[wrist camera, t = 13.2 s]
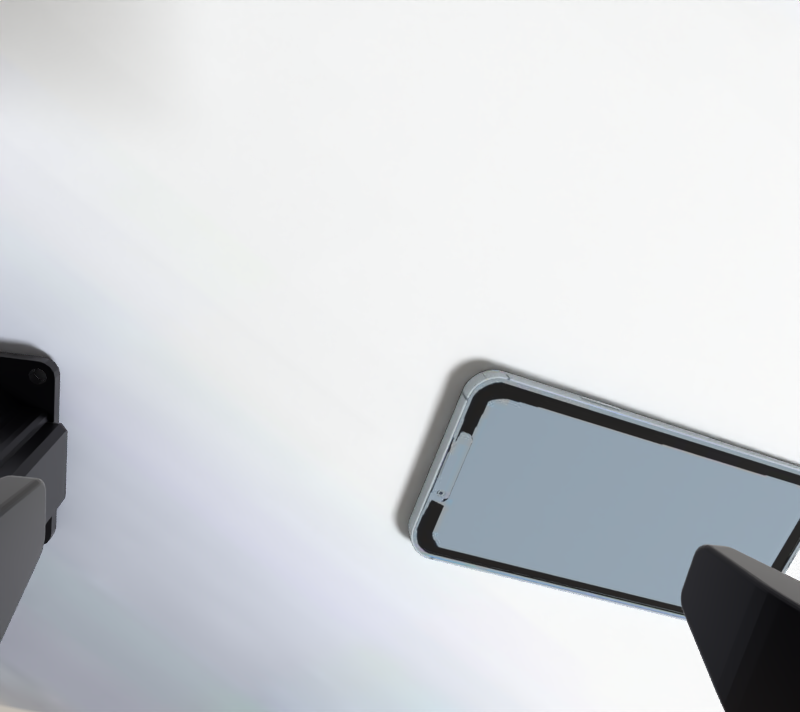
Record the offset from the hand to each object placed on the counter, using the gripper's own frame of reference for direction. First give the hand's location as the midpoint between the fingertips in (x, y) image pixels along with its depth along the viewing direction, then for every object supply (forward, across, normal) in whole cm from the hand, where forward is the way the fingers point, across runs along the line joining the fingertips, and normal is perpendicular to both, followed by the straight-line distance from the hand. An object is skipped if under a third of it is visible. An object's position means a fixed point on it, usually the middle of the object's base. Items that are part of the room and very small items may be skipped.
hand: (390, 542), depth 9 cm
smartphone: (+14, -11, +6) cm, 18 cm away
